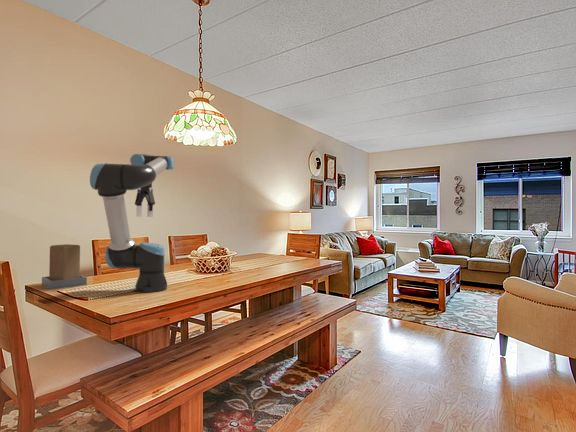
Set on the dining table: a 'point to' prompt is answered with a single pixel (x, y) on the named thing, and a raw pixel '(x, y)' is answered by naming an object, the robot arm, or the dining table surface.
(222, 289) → the dining table surface
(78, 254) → the wooden block
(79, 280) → the tray
